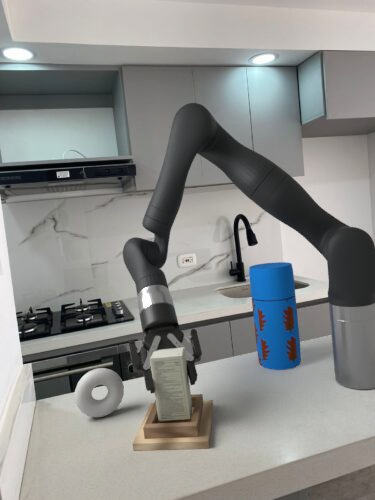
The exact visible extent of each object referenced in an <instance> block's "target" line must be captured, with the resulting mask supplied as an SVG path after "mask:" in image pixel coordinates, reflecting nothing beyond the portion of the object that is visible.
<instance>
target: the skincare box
mask: <svg viewBox="0 0 375 500" xmlns="http://www.w3.org/2000/svg"><path fill="white" fill-rule="evenodd" d="M184 347H185V346H184ZM184 347H182V348H170V349H160V350H156V351H154V352H153V353H152V355H151V357H150V364H151V371H152V378H153V382H154V388H155V393H154V398H155V400H156V406H157V413H158V420H159V421H168V420H183V419H191V414H192V400H191V395H192V394H191V387H190V386H191V384H190V380H189V376H188V370H187V362H186V355H185V348H186V347H185V348H184Z"/></svg>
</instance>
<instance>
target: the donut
mask: <svg viewBox="0 0 375 500" xmlns="http://www.w3.org/2000/svg"><path fill="white" fill-rule="evenodd" d="M98 386H104V387H106V389H107V394H106V396H105V397H103V398H101V399H96V398H94V396H93V395H92V392H93V390H94V389H95V388H96V387H98ZM124 390H125V386H124V382H123V380H122V378H121V376H120V375H119V374H118V372H116V371H114V370H112V369H109V368H105V367H99V368H97V367H96V368H94V369H92V370H89V371H88V372H86V373H84V375H83V376H82V377H81V378H80V379H79V380H78V382H77V384H76V387H75V390H74V400H75V404H76V407H77V408H78V410H80V412H81V413H82V414H84V415H86V416H87V417H91V418H102V417H105V416H107V415H111V414H112V413H113V412H114V411H115V410H117V408H118V407H119V406H120V404H121V403H122V400H123V398H124V395H125V391H124Z"/></svg>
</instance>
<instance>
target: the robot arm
mask: <svg viewBox="0 0 375 500" xmlns="http://www.w3.org/2000/svg"><path fill="white" fill-rule="evenodd" d="M197 155H199V156H201V157H202V158H204V159H206V160H207V161H208V162H210V163H211V164H213V165H215V167H217V168H218V169H220V171H221V172H223V174H225V176H226V177H227V178H228V179H229V180H230V182H231V183H232V184H234V186H235V187H237V188H238V190H239V191H241V192H242V194H244V195H245V196H246V197H247V198H248V199H249V200H250V201H252V203H253V202H254V204H256V206H258V207H259V208H260V209H261V210H263V211H265V212H266V213H268V214H269V215H270V216H272V218H275V219H277V220H278V221H279V222H280V223H283V224H284V225H286V226H288V227H290V228H291V229H292V230H294V231H296V232H297V233H298V234H300V235H301V236H302V237H303V238H305V240H307V241H308V243H310V244H311V245H312V246H313V248H315V249H316V251H318V252H319V253H320V254H321V256H322V257H324V259H325V260H326V262H327V263H326V264H327V277H328V290H327V298H328V299H327V300H328V311H329V320H330V321H329V322H330V323H329V324H330V332H331V333H330V334H331V344H332V356H333V366H334V367H333V369H334V378H335V381H336V382H337V383H338V384H339V385H342V386H343V387H346V388H350V389H355V390H372V389H375V242H374V240H373V237H372V236H371V235H370V234H369V233H368V232H367V231H365V230H364V229H362V228H360V227H355V226H350V225H348V224H346V223H344V222H342V221H341V220H340V219H338V218H336V217H335V216H333V215H332V214H331V213H330V212H328V211H326V210H325V209H323V208H322V206H320V205H319V204H318V203H317V202H316V200H314V199H313V197H312V196H311V195H310V194H309V192H307V191H306V190H305V188H304V187H303V186H302V185H301V184H300V183H299V182H298V181H297V180H296V179H295V178H294V177H292V175H290V174H288V172H286V171H285V170H284V169H283V168H281V167H280V166H278V164H276V163H275V162H273V161H272V160H270V159H269V158H268V157H266V156H264V155H262V154H260V153H259V152H257V151H255V150H253V149H251V148H249V147H247V146H246V145H244V144H242V143H241V142H239V141H238V140H237V139H235V138H234V137H233V136H232V135H231V134H230V133H229V132H228V131H227V130H226V129H225V128H224V127H223V126H222V125H220V123H219V122H218V121H217V120H216V119H215V117H214V116H213V114H212V113H211V112H210V111H209V109H208V108H207V107H206V106H204V105H203V104H201V103H198V102H190V103H186V104H185V105H183V106H181V107H180V108H178V110H177V111H176V113H175V114H174V116H173V120H172V124H171V127H170V133H169V138H168V143H167V146H166V150H165V155H164V159H163V162H162V166H161V170H160V172H159V176H158V179H157V181H156V184H155V187H154V190H153V192H152V195H151V196H150V201H149V203H148V205H147V207H146V211H145V213H144V216H143V218H142V223H141V224H142V227H143V228H144V229H145V230H146V231H148V232H150V233H152V234H153V236H154V238H153V240H149V239H147V238H146V239H145V238H140V237H131V238H129V239H128V240H127V241H126V242H125V243H124V245H123V249H122V258H123V262H124V265H125V268H127V272H128V273H129V274H130V276H131V279H132V281H133V282H134V284H135V290H136V295H137V308H138V315H139V320H140V325H141V331H142V339H140V340H136V341H135V339H130V340H128V351H129V355H130V359H131V365H132V370H133V373H134V374H142V375H143V378H144V385H145V389H146V391H147V392H149V391H150V394H155V388H154V382H153V378H152V371H151V364H150V357H151V355H152V353H153V352H154V351H156V350H160V349H170V348H182V347H184V348H185V355H186V362H187V370H188V377H189V385H190V386H195V384H196V382H197V380H198V372H197V368H196V364H195V363H198V362H200V361H201V359H202V354H203V352H202V349H201V344H200V340H199V336H198V335H199V334H198V331H197V329H196V328H192V329H191V330H190V331H187V332H186V331H185V332H184V331H182V330H181V328H180V323H179V319H178V316H177V313H176V308H175V304H174V301H173V296H172V295H171V292H170V290H169V285H168V282H167V281H168V280H167V277H166V275H165V272H164V271H163V270H162V268H163V267H164V266H165V263H166V262H167V259H168V252H169V244H170V243H169V242H170V237H171V231H172V227H173V225H174V222H175V220H176V218H177V215H178V213H179V210H180V207H181V204H182V201H183V196H184V192H185V188H186V183H187V178H188V174H189V172H190V169H191V167H192V163H193V162H194V160H195V158H196V156H197ZM184 340H186V341H187V343H189V344H191V349H192V353H190V352H189V351H188V350H187V348H186V346H185V345H184V344H183V342H184ZM142 347H143V349H145V350H146V351H147V352H148V353H147V355H146V359H145V361H144V363H140V362H139V361H140V360H139V355H138V353H140V352H141V348H142Z"/></svg>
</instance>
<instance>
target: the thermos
mask: <svg viewBox="0 0 375 500" xmlns="http://www.w3.org/2000/svg"><path fill="white" fill-rule="evenodd" d="M248 269H249V270H248V276H249V286H250V295H251V304H252V314H253V324H254V333H255V344H256V351H257V358H258V363H259V365H260V366H261V367H263V368H265V369H268V370H275V371H276V370H277V371H280V370H283V371H284V370H285V371H286V370H291V369H294V368H296V366H297V367H298V366H300V364H301V363H302V362H301V361H302V360H301V357H302V356H301V355H302V353H301V340H300V332H299V331H300V329H299V319H298V310H297V295H296V287H295V275H294V268H293V265H292V262H285V261H284V262H281V261H280V262H279V261H278V262H266V263H258V264H254V265H251V266H249V267H248ZM300 362H301V363H300ZM290 368H291V369H290Z"/></svg>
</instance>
